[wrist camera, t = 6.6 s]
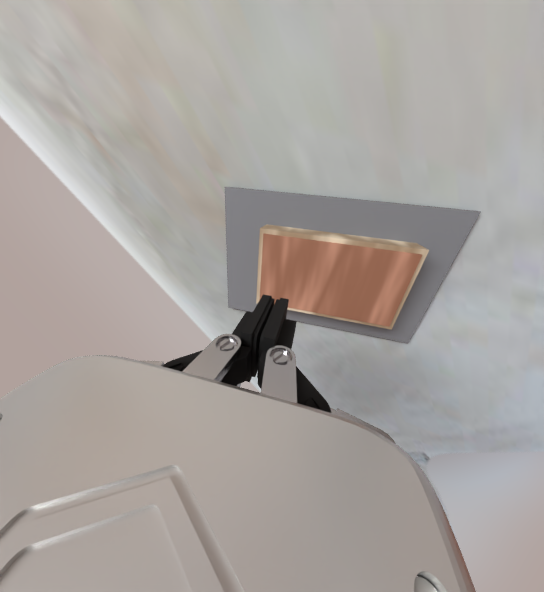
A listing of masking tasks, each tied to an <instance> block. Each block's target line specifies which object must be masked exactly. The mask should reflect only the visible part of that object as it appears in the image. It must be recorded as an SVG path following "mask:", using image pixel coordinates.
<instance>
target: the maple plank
mask: <svg viewBox="0 0 544 592" xmlns="http://www.w3.org/2000/svg"><path fill="white" fill-rule="evenodd" d="M428 252H429V250H428V249H426V248H425V247H423V246H421V245H419V244H417V243H412V242H404V241H396V240H388V239H380V238H372V237H364V236H356V235H348V234H340V233H332V232H324V231H316V230H308V229H300V228H292V227H284V226H276V225H268V224H267V225H265V226H263V227H261V228H260V236H259V257H258V277H257V297H256V304H258V302H259V301H260V299H261V297H262V295H263V294H264V295H269V296H272V298H273V299H274V304H275V302H276V300H277V299H279V300H280V298H285V299H289V302H288V309H287V310H292V311H298V312H303V313H308V314H313V315H318V316H324V317H329V318H334V319H339V320H344V321H350V322H355V323H360V324H365V325H370V326H376V327H381V328H386V329H391V330H392V328H393V325H394V323H395V321H396V319H397V317H398V315H399V313H400V311H401V309H402V307H403V304H404V302H405V300H406V298H407V296H408V294H409V292H410V290H411V288H412V286H413V283H414V281H415V279H416V277H417V275H418V273H419V271H420V269H421V267H422V265H423V262H424V260H425V258H426V256H427V254H428Z"/></svg>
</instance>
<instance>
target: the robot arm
mask: <svg viewBox="0 0 544 592" xmlns="http://www.w3.org/2000/svg"><path fill="white" fill-rule="evenodd" d="M288 302H289V299H285V298H280V300H279V299H277V300H276V302H275V304H274V299H273V298H272V296H269V295H264V294H263V295H262V297H261V299H260V301H259V302H258V304H257V306H256V307H255V309H254V311H253V312H250V311H247V312H246V313H245V315H244V316H243V318H242V319H241V321H240V322H239V324H238V325H237V327H236V329H235V330H234V332H233V333H232V334H223V335H220V336H218V337H217V338H215V339H214V340H213V341H212V342H211V343H210V344H209V345H208V346H207V347H206V348H205V349H204V350H203V351H200V352H196V353H194V354H190V355H187V356H184V357H181V358H178V359H175V360H172V361H170V362H167V363H166V364H164V363H163V362H158V361H138V360H134V359H128V358H123V357H117V356H106V355H104V356H103V355H96V356H83V357H77V358H72V359H69V360H66V361H63V362H61V363H59V364H57V365H55V366H53V367H51V368H49V369H48V370H46V371H44V372H42V373H40V374H39V375H37V376H35V377H34V378H32V379H30V380H29V381H27V382H25V383H24V384H22V385H21V386H19V387H17V388H16V389H14V390H13V391H11V392H9V393H8V394H6V395H5V396H3V397H2V398H0V592H476V591H475V588H474V585H473V583H472V580H471V577H470V575H469V572H468V569H467V567H466V564H465V561H464V559H463V556H462V553H461V551H460V548H459V546H458V543H457V541H456V538H455V536H454V533H453V531H452V529H451V526H450V524H449V521H448V519H447V516H446V514H445V512H444V510H443V507H442V505H441V503H440V501H439V499H438V497H437V495H436V493H435V491H434V489H433V487H432V485H431V483H430V481H429V480H428V478H427V476H426V475H425V473H424V472H423V471H422V469H421V468H420V466H419V465H418V464H417V463H416V462H415V461H414V460H413V458H412V457H411V456H410V455H409V454H407V453H406V452H405V451H404V450H403V449H401V448H400V447H399V446H398V445H396V444H395V442H394V440H393V439H392V438H391V437H390V436H389V435H388V434H387V433H385V432H384V431H382V430H380V429H378V428H376V427H374V426H372V425H370V424H368V423H366V422H364V421H362V420H360V419H358V418H356V417H354V416H352V415H350V414H348V413H346V412H344V411H342V410H340V409H338V408H337V411H336V410H334V409H332V408H330V406H329V405H328V403H327V402H326V400H325V399H324V398H323V397H322V396H321V394H320V393H319V392H318V391H317V390H316V389H315V387H314V386H313V385H312V384H311V383H310V382H309V381H308V379H307V378H306V377H305V376H304V375H303V374H302V372H301V371H300V370H299V369H298V368H297V367H296V357H295V354H294V352H293V351H292V350H291V348H292V343H293V338H294V333H295V327H296V321H293V320H289V319H286V316H287V309H288ZM257 370H258V376H257V377H258V385H259V387H260V388H261V393H259V392H255V391H251V390H248V389H244V388H240V385H241V383H242V382H244V381H248V382H250V380H251V377H252V376H253V377H255V376H256V373H257ZM416 576H418V577H416Z"/></svg>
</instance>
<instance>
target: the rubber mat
mask: <svg viewBox="0 0 544 592" xmlns="http://www.w3.org/2000/svg"><path fill="white" fill-rule="evenodd" d="M225 212H226V244H227V276H228V307H229V308H234V309H239V310H244V311H250V312H253V311H254V309H255V307H256V306H257V304H256V297H257V277H258V257H259V236H260V228H261V227H263V226H265V225H267V224H268V225H276V226H284V227H292V228H300V229H308V230H316V231H324V232H332V233H340V234H348V235H356V236H364V237H372V238H380V239H388V240H396V241H404V242H412V243H417V244H419V245H421V246H423V247H425V248H426V249H428V250H429V252H428V254H427V256H426V258H425V260H424V262H423V265H422V267H421V269H420V271H419V273H418V275H417V277H416V279H415V281H414V283H413V286H412V288H411V290H410V292H409V294H408V296H407V298H406V300H405V302H404V304H403V307H402V309H401V311H400V313H399V315H398V317H397V319H396V321H395V323H394V325H393V328H392V330H391V329H386V328H381V327H376V326H370V325H365V324H360V323H355V322H350V321H344V320H339V319H334V318H329V317H324V316H318V315H313V314H308V313H303V312H298V311H292V310H287V316H286V319H289V320H294V321H299V322H304V323H309V324H314V325H319V326H324V327H329V328H334V329H339V330H344V331H349V332H354V333H359V334H364V335H369V336H374V337H379V338H384V339H389V340H394V341H399V342H404V343H409V341H410V339H411V337H412V335H413V334H414V332H415V330H416V328H417V326H418V324H419V323H420V321H421V319H422V317H423V315H424V314H425V312H426V310H427V308H428V306H429V305H430V303H431V301H432V299H433V297H434V296H435V294H436V292H437V290H438V288H439V286H440V285H441V283H442V281H443V279H444V277H445V276H446V274H447V272H448V270H449V268H450V267H451V265H452V263H453V261H454V259H455V257H456V256H457V254H458V252H459V250H460V248H461V247H462V245H463V243H464V241H465V239H466V238H467V236H468V234H469V232H470V230H471V228H472V227H473V225H474V223H475V221H476V219H477V218H478V216H479V214H480V212H481V211H471V210H461V209H451V208H440V207H430V206H420V205H409V204H399V203H389V202H378V201H368V200H358V199H347V198H337V197H326V196H316V195H306V194H295V193H285V192H275V191H264V190H254V189H244V188H233V187H225Z"/></svg>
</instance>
